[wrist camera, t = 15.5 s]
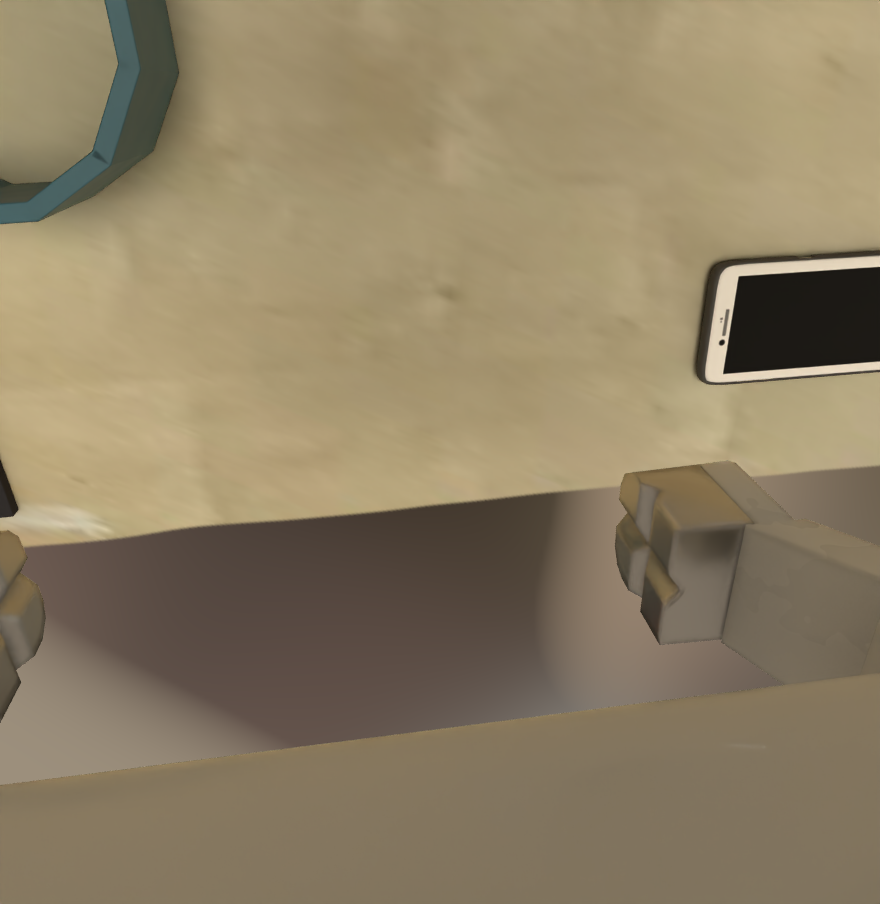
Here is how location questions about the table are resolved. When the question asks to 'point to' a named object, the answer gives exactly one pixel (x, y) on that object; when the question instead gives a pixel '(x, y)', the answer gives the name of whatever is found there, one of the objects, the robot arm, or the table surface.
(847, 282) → the cell phone
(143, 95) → the bucket
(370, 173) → the table surface
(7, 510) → the mat
